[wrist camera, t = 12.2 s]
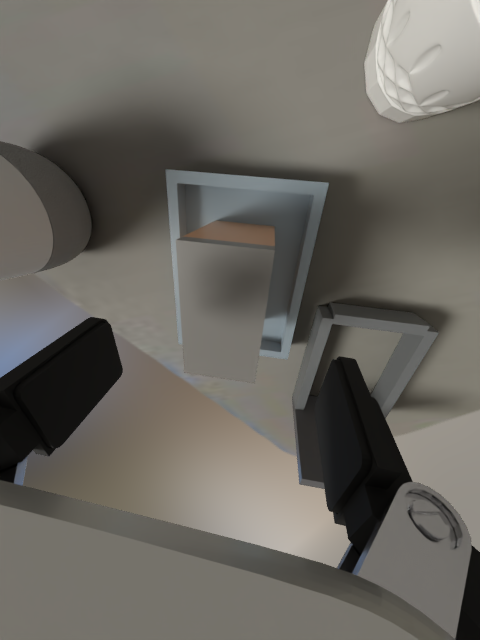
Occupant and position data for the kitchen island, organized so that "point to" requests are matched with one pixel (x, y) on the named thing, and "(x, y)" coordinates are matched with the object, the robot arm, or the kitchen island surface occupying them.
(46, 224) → the smart speaker
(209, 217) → the tray
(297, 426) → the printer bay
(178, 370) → the kitchen island surface
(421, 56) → the white cup
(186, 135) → the kitchen island surface
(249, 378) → the block
